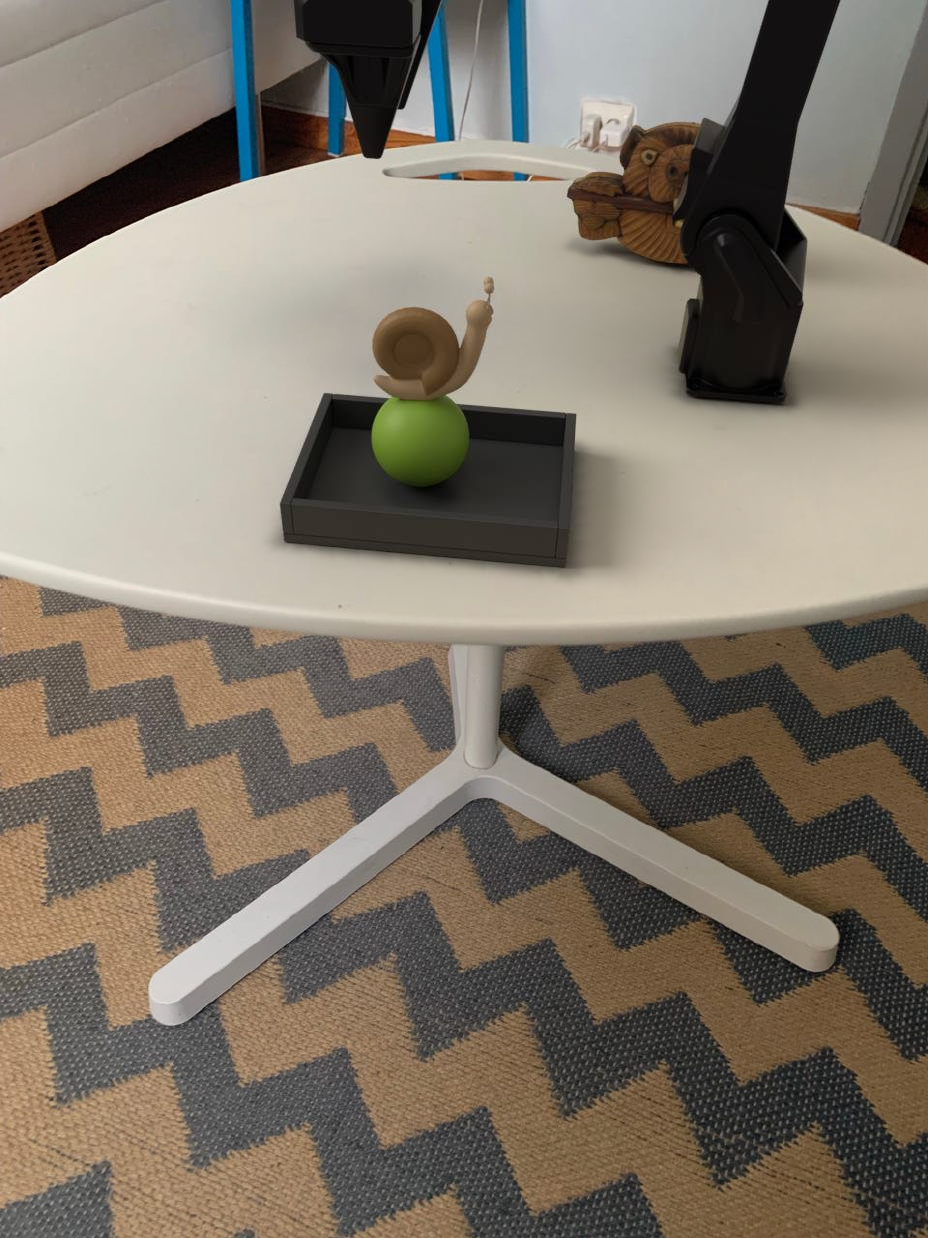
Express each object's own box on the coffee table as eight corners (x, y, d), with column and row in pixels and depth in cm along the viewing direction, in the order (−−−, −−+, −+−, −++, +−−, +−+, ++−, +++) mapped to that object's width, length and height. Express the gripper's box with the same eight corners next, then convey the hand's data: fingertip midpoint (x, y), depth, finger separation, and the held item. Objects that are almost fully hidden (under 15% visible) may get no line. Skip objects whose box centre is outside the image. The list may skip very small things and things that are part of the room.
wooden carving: (558, 258, 83) (570, 126, 77) (566, 235, 87) (578, 107, 80) (767, 283, 81) (799, 150, 74) (768, 259, 84) (798, 129, 78)
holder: (572, 449, 64) (576, 412, 62) (565, 567, 55) (570, 529, 54) (326, 429, 65) (323, 392, 63) (283, 542, 56) (279, 503, 55)
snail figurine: (486, 507, 58) (497, 305, 50) (370, 505, 58) (362, 302, 50) (483, 451, 62) (493, 256, 54) (375, 450, 62) (368, 254, 54)
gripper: (271, -203, 63) (293, 79, 73) (175, -162, 49) (219, 177, 60) (455, -194, 62) (450, 89, 73) (410, -150, 48) (412, 191, 59)
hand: (385, 131), depth 66 cm, fingers open, 9 cm apart
